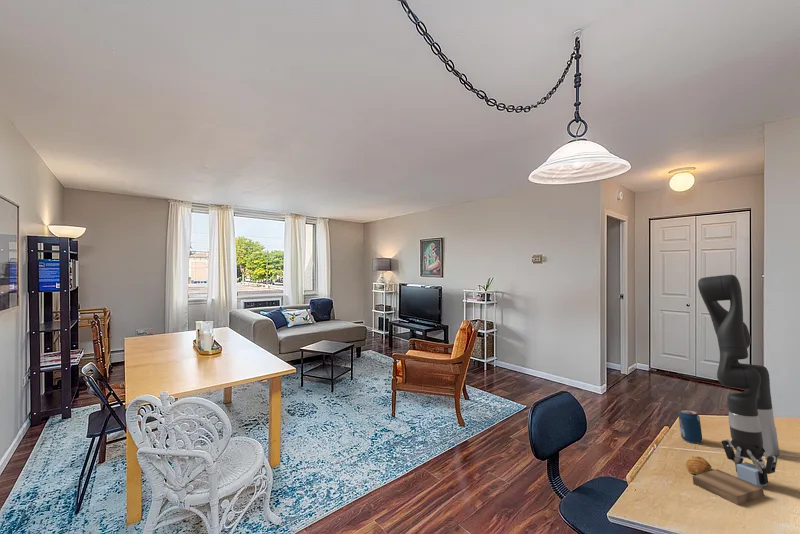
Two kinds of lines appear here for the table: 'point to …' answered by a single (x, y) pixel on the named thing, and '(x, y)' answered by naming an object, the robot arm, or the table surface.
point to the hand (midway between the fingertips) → (752, 479)
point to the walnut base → (728, 486)
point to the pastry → (697, 465)
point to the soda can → (690, 426)
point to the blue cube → (748, 473)
